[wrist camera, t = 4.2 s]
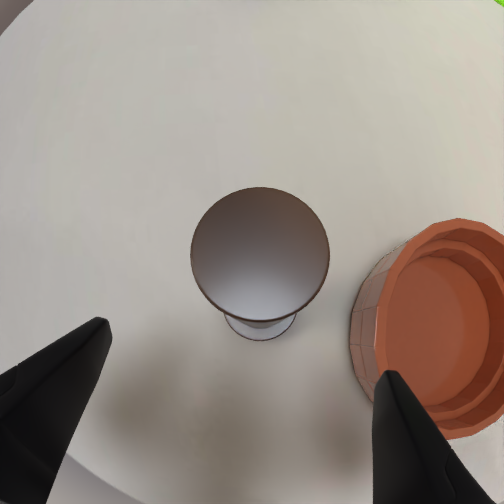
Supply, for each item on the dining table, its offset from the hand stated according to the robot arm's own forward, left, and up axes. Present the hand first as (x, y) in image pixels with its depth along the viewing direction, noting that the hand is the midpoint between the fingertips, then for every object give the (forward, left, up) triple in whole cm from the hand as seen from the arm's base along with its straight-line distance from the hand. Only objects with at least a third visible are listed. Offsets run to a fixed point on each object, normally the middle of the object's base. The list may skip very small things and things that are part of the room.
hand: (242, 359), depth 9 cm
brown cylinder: (+2, +1, -10) cm, 10 cm away
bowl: (+8, -9, -10) cm, 15 cm away
